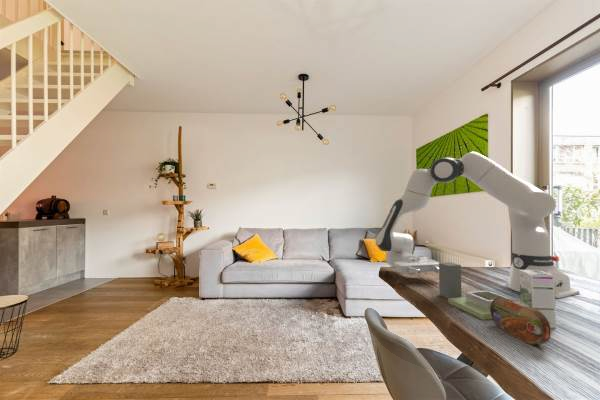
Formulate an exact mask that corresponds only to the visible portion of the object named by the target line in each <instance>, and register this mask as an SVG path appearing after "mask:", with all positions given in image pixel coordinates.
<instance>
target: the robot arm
mask: <svg viewBox="0 0 600 400" xmlns="http://www.w3.org/2000/svg"><path fill="white" fill-rule="evenodd" d="M459 177H464V178H465V179H468V180H469V181H470V182H472V183H473V184H474V185H476V186H477V187H479V188H480V189H481V190H483V191H484V192H485V193H487V194H488V195H489V196H491V197H493V198H494V199H496V200H497V201H500V202H501V203H502V204H504V205H506V206H507V211H508V217H509V223H510V224H509V225H510V228H511V229H510V230H511V238H512V239H511V245H512V252H511V255H510V258H511V262H512V263H511V265H510V269H509V279H508V280H507V285H508V286H507V287H508V288H509V289H511V290H513V291H515V292H519V293H520V276H519V270H540V271H543V272H546V273H549V274H551V275H554V291H555V299H561V298H565V297H570V296H574V295H578V294H580V290H579V289H576V288H575V287H571V281H570V278H569V277H570V276H569V275H567V274H565V273H564V272H563V271H562V270H561V269H559V268H558V267H557V266H555V263H554V262H556V263H557V262H558V263H559V256H556V255H555V256H554V255H551V254H550V233H549V232H548V229H547V226H546V223H545V222H546V221H545V218H546V217H548V216H550V215H552V214H553V212H555V209H556V207H557V203H556V200H555V198H554V197H553V196H552V195H551V194H549V193H548V192H546V191H544V190H542V189H540V188H539V187H537V186H535V185H533V184H532V183H529V182H528V181H525V180H524V179H522V178H519V177H518V176H517V175H515V174H513V173H511V172H510V171H508V170H507V169H506V168H504V167H502V166H501V165H500V164H498V163H497V162H495V161H494V160H493V159H490V158H488V157H487V156H485V155H482V154H481V153H479V152H476V151H469V152H467V153H465V154H464V155H463V156H461V157H460V158H454V157H448V156H447V157H445V156H444V157H440V158H438V159H436V160H434V162H432V164H431V166H430V168H418V169H417V168H416V169H415V170H414V171H413V172H412V173H411V175H410V178H409V180H408V181H407V184H406V187H405V190H404V192H403V194H402V196H400V198H399V199H396V200H395V202H394V203H393V204H392V206H391V208H390V210H389V213H388V215H387V217H386V219H385V220H384V221H383V225H382V227H381V229H380V230H379V232H378V233H377V235H376V238H375V244H376V246H377V247H378V249H379V250H380V251H381V252H386V254H385V260H386V263H387V264H388V265H389V266H390V268H393V270H394V271H395V272H397V274H401V275H403V274H408V275H414V274H415V275H419V274H421V273H438V274H439V263H441V262H439V261H437V260H435V259H431V258H429V257H427V256H423V255H416V254H414V252H415V250H416V242H415V239H414V237H413V236H412V235H411V234H410V233H405V232H398V231H394V230H395V228H396V226H397V224H398V222H399V219H400V218H401V217H403V216H404V215H406V214H409V213H414V212H418V211H420V210H422V209H424V208H425V207H426V206H427V204H428V203H429V200H430V196H431V194H432V192H433V191H432V190H433V188H434V187H435V186H436V184H438V183H443V184H447V183H452V182H453V181H455V180H456V179H457V178H459Z"/></svg>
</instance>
